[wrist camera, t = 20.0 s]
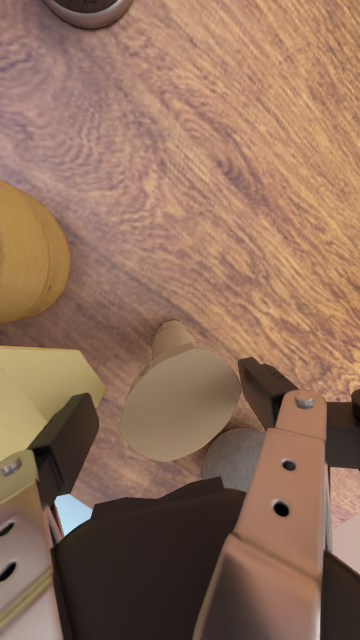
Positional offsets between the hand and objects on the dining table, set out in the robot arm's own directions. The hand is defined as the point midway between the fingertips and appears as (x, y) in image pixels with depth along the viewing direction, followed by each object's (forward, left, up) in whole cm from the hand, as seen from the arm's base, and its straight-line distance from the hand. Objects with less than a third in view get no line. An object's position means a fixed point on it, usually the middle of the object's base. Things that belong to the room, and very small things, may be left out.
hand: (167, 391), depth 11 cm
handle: (+1, +1, -14) cm, 14 cm away
